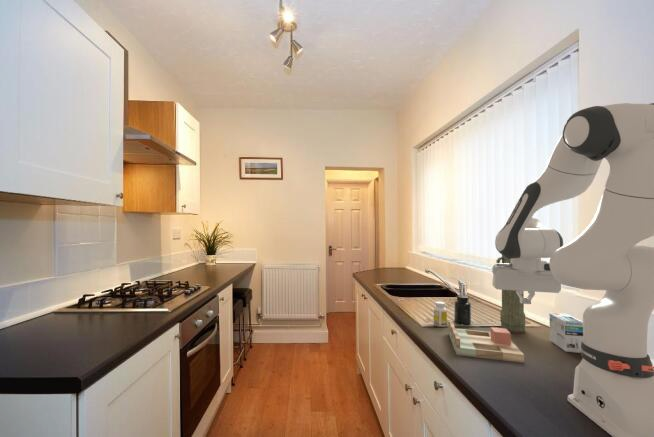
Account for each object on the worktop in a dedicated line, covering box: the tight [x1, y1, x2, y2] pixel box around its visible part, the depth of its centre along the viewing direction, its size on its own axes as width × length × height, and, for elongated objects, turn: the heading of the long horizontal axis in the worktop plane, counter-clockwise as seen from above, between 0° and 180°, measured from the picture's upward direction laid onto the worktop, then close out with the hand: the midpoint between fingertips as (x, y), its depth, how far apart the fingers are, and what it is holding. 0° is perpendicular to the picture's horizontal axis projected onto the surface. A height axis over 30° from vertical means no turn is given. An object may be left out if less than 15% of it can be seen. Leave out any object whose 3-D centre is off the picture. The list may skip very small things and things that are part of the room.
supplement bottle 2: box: [453, 294, 472, 326], centre depth 133 cm, size 7×7×12 cm
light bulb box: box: [548, 312, 583, 354], centre depth 107 cm, size 11×7×11 cm, turn 168°
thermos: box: [495, 254, 526, 334], centre depth 125 cm, size 9×12×35 cm
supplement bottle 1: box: [433, 301, 448, 328], centre depth 130 cm, size 5×5×10 cm
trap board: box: [448, 320, 525, 364], centre depth 106 cm, size 20×20×6 cm
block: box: [490, 326, 512, 345], centre depth 105 cm, size 5×5×4 cm
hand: (525, 303), depth 103 cm, fingers closed
